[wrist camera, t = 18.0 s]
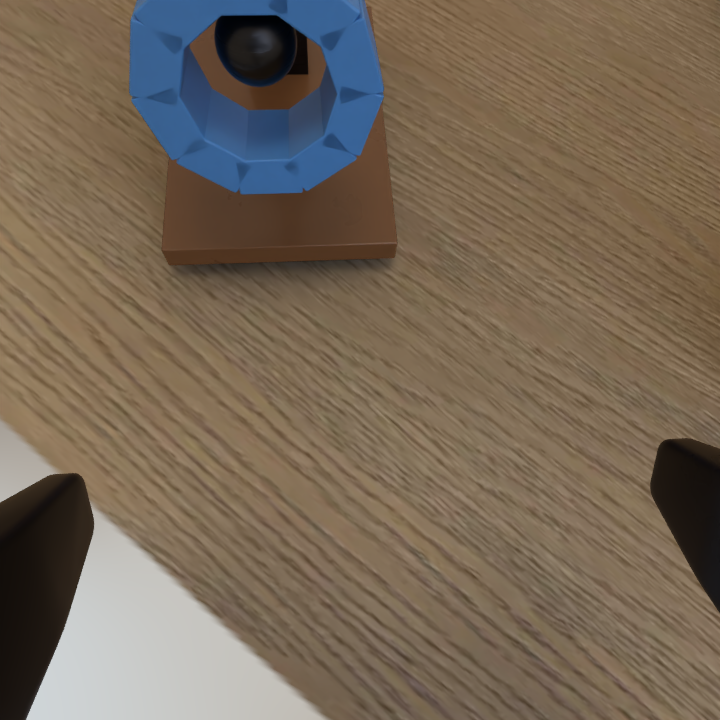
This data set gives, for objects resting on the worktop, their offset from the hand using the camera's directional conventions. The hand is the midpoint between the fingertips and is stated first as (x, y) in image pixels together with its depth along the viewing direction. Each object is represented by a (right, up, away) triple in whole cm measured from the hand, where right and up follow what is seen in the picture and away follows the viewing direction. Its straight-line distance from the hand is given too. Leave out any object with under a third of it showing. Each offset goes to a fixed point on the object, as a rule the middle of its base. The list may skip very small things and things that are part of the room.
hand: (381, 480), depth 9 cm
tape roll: (-4, +9, +12) cm, 15 cm away
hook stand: (-4, +13, +19) cm, 23 cm away
